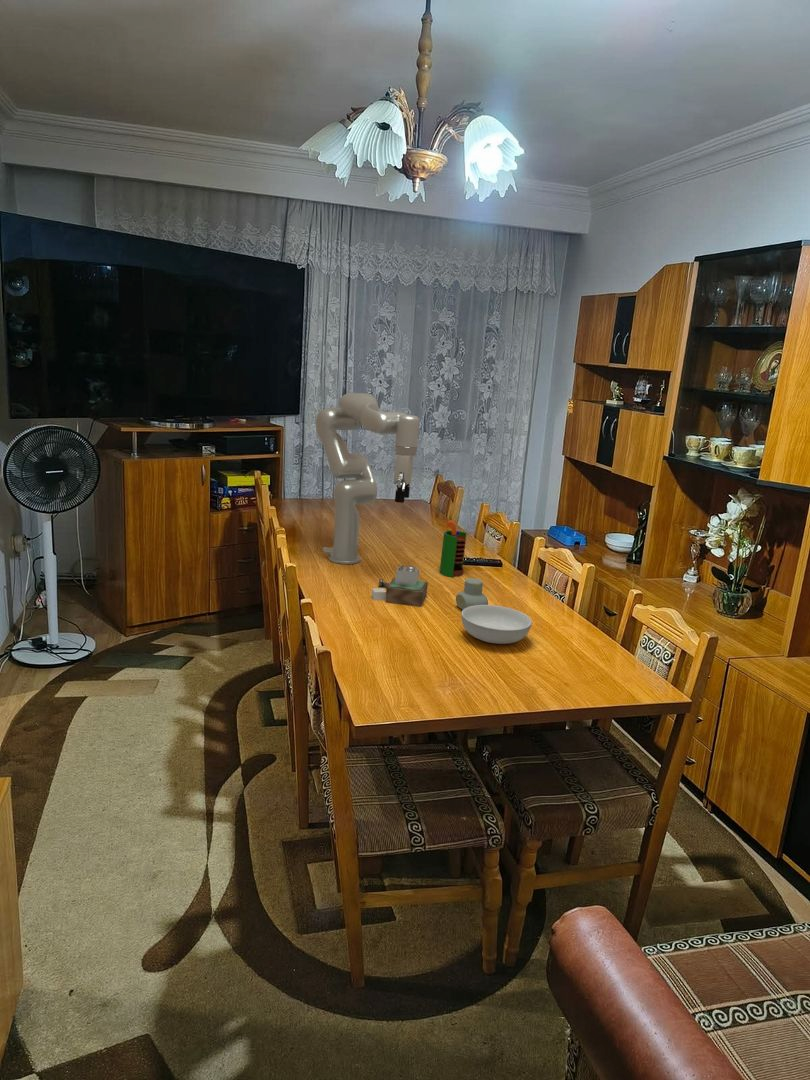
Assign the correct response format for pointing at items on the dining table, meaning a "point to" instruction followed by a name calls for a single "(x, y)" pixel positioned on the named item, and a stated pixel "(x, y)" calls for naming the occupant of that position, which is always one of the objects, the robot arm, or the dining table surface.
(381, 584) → the loose bolt
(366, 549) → the dining table surface
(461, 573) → the motor
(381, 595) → the block
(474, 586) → the grey pipe tee
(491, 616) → the serving bowl
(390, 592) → the plinth
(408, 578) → the housing
